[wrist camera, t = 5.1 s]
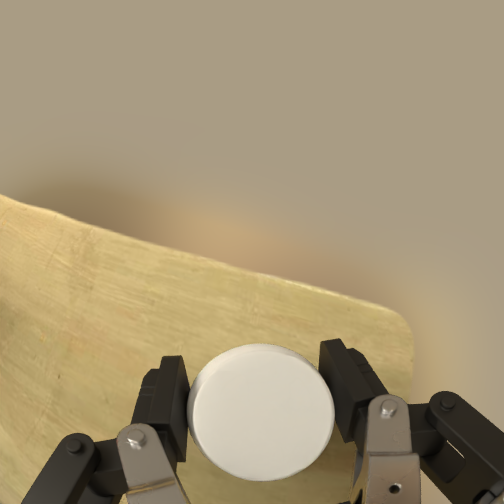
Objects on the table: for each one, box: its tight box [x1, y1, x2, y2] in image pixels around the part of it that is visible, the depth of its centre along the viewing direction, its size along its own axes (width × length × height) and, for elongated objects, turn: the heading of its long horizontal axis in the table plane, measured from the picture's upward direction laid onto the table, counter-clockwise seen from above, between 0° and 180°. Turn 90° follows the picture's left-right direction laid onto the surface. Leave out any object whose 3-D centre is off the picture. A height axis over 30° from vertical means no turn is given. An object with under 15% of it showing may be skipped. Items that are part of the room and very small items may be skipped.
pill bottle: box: [187, 343, 335, 482], centre depth 12 cm, size 5×5×10 cm
